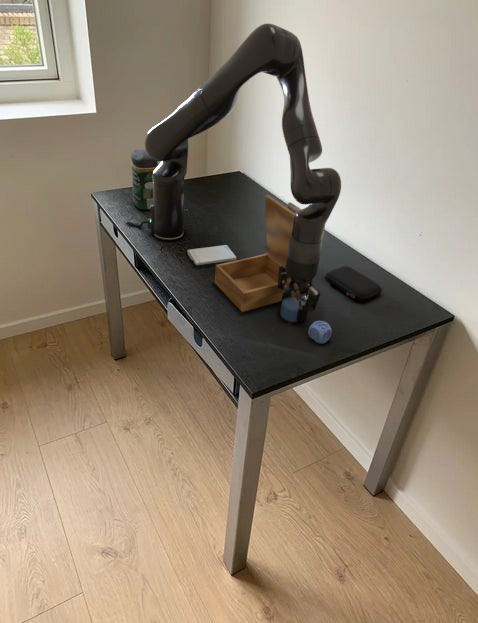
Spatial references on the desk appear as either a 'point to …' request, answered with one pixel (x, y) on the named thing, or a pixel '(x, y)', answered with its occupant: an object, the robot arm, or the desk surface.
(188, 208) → the desk surface
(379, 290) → the carrying case
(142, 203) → the coffee jar
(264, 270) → the chest
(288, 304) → the blue lid
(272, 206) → the cover
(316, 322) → the decorative dice
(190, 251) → the hard drive
